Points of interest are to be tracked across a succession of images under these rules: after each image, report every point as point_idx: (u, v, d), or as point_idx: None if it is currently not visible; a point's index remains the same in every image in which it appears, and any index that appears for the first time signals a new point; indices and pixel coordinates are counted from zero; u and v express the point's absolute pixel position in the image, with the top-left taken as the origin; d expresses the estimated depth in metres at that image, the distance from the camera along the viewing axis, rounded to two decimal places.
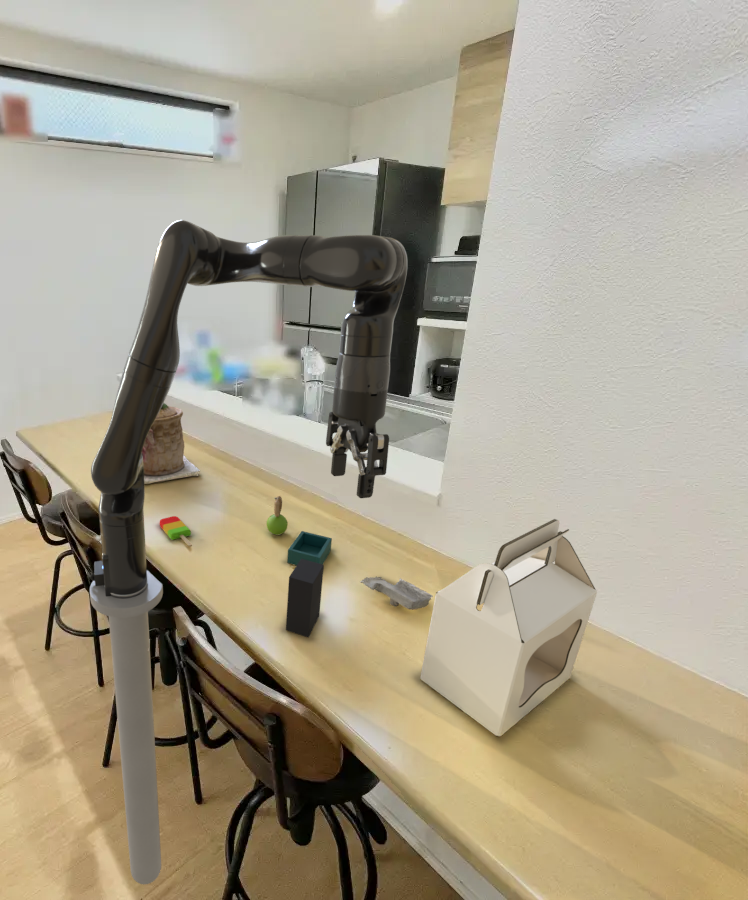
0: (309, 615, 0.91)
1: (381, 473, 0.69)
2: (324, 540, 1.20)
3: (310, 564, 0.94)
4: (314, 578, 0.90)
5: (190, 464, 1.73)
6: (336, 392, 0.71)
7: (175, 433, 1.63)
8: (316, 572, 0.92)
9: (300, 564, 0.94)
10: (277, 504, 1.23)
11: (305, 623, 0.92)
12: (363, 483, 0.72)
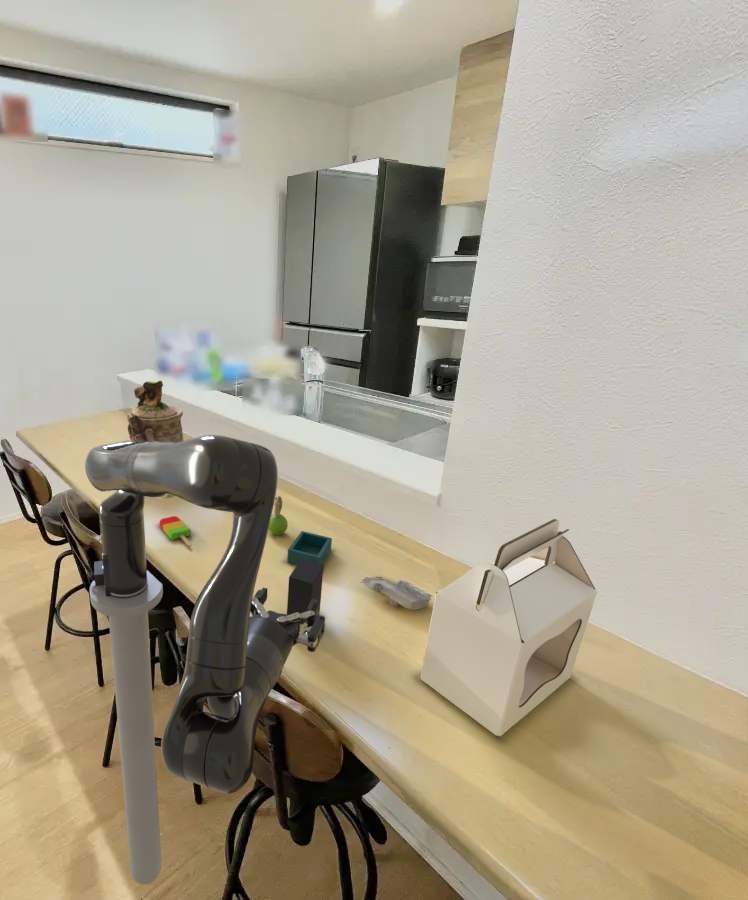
0: None
1: None
2: (324, 540, 1.20)
3: (310, 564, 0.94)
4: (314, 578, 0.90)
5: None
6: (258, 630, 0.70)
7: (175, 433, 1.63)
8: (316, 572, 0.92)
9: (300, 564, 0.94)
10: (277, 504, 1.23)
11: None
12: (258, 595, 0.83)
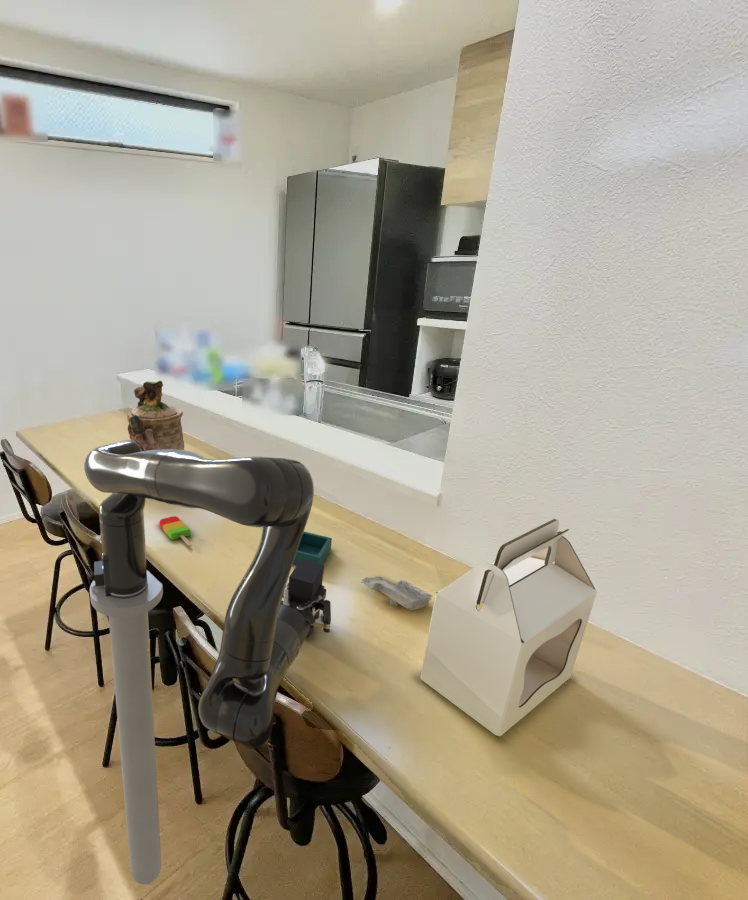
0: None
1: None
2: (324, 540, 1.20)
3: (310, 564, 0.94)
4: (314, 578, 0.90)
5: None
6: (280, 616, 0.82)
7: (175, 433, 1.63)
8: (316, 572, 0.92)
9: (300, 564, 0.94)
10: None
11: None
12: None
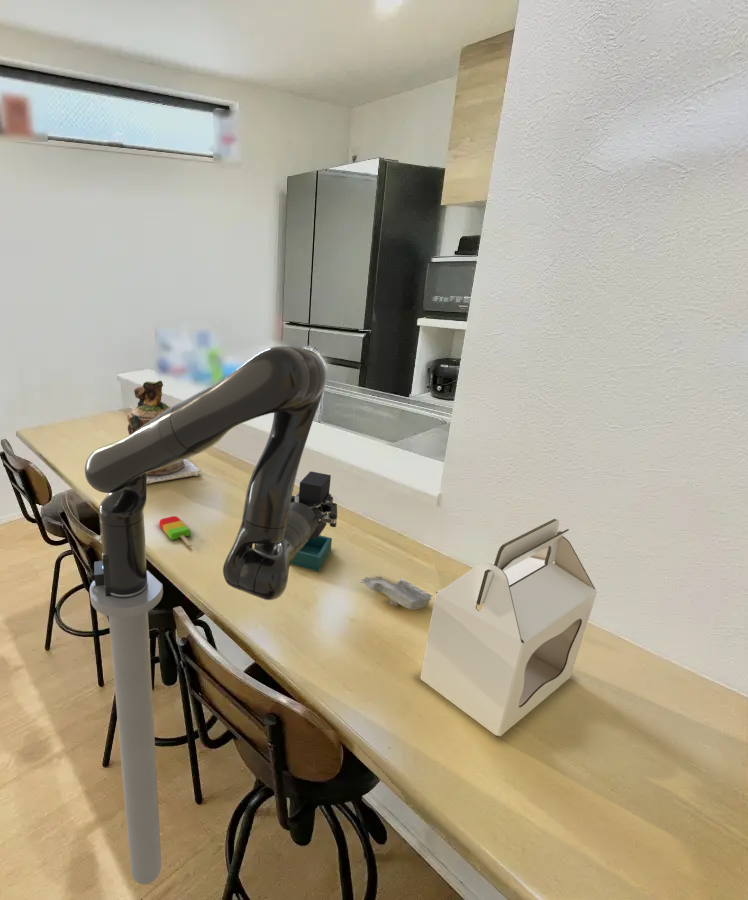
0: None
1: None
2: (324, 540, 1.20)
3: (318, 474, 1.05)
4: (322, 483, 1.01)
5: (190, 464, 1.73)
6: (293, 508, 0.93)
7: None
8: (324, 480, 1.02)
9: (309, 474, 1.05)
10: None
11: None
12: None
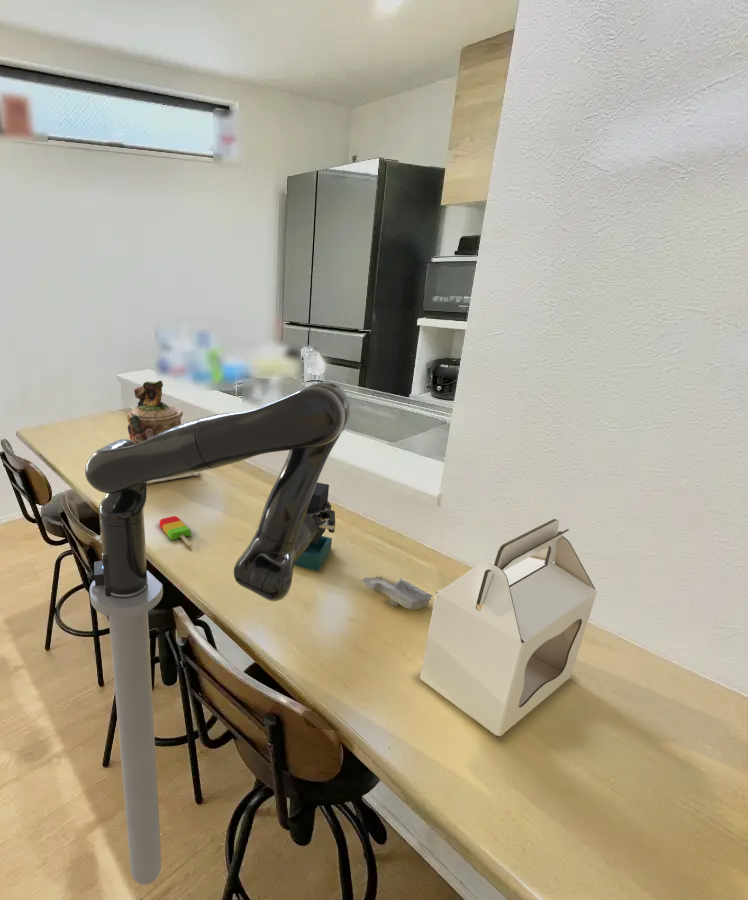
0: None
1: None
2: (324, 540, 1.20)
3: (318, 484, 1.14)
4: (321, 492, 1.10)
5: None
6: None
7: None
8: (323, 489, 1.12)
9: None
10: None
11: None
12: None
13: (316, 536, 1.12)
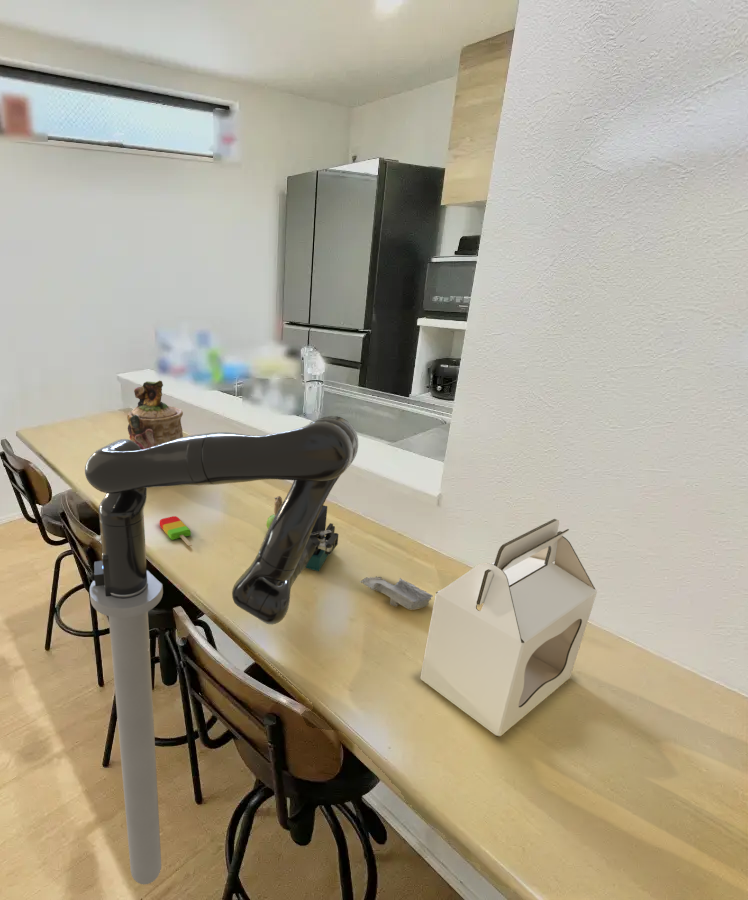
0: None
1: None
2: None
3: None
4: (320, 515, 1.12)
5: None
6: None
7: (175, 433, 1.63)
8: (321, 511, 1.14)
9: None
10: (277, 504, 1.23)
11: None
12: None
13: None
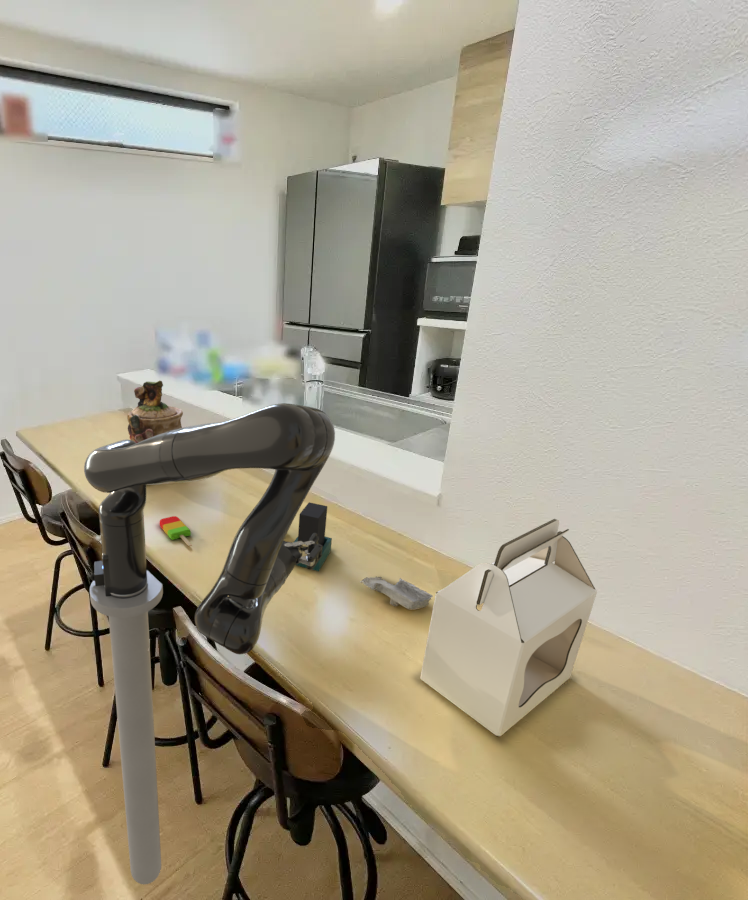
0: None
1: None
2: (324, 540, 1.20)
3: (316, 505, 1.16)
4: (320, 515, 1.12)
5: None
6: None
7: None
8: (321, 511, 1.14)
9: (308, 506, 1.16)
10: None
11: None
12: None
13: None
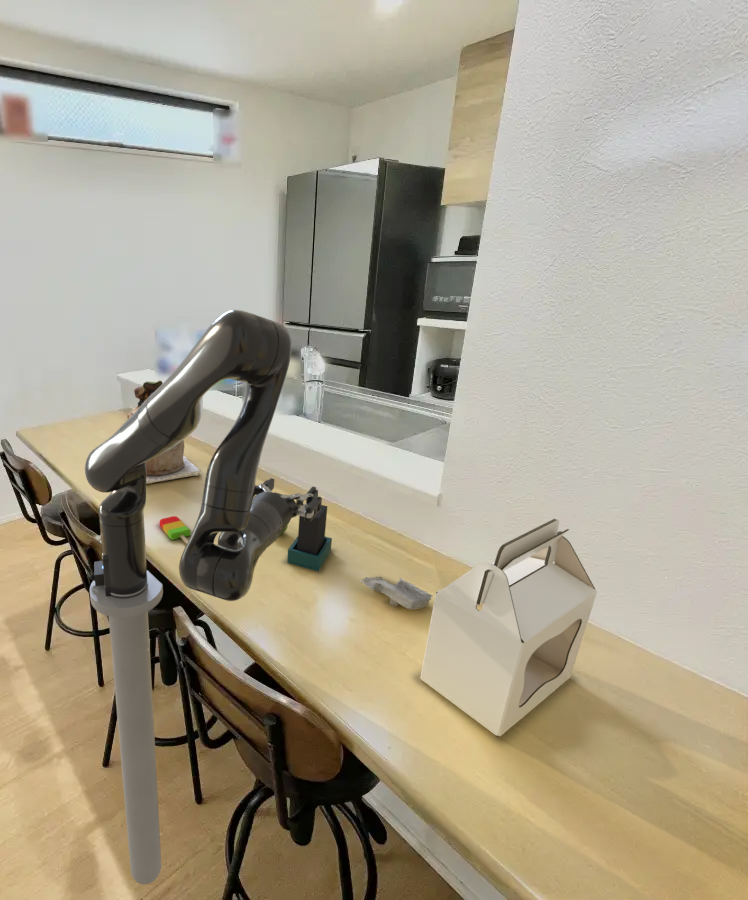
0: (315, 545, 1.13)
1: None
2: (324, 540, 1.20)
3: None
4: (320, 515, 1.12)
5: (190, 464, 1.73)
6: (263, 499, 0.83)
7: None
8: (321, 511, 1.14)
9: None
10: None
11: (312, 552, 1.14)
12: None
13: None
